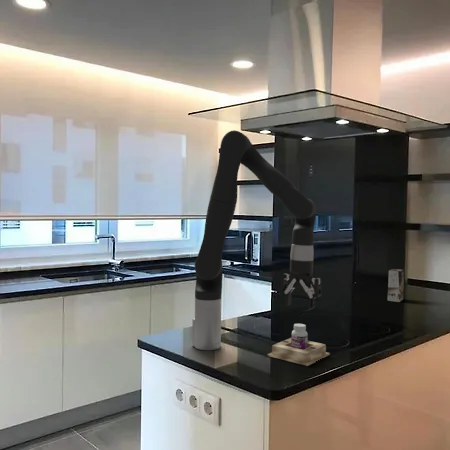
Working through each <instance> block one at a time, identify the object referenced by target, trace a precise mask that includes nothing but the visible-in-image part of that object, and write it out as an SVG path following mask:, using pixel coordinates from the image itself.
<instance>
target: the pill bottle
mask: <svg viewBox="0 0 450 450" xmlns="http://www.w3.org/2000/svg"><path fill="white" fill-rule="evenodd" d="M306 326H307V325H306V324H303V323H294V324H293V330H292V331H291V337H290V338H291V347H293V348H298V349H302V350H304V349H306V348H307V340H309V339H308V337H309V336H308V335H309V334H308V332H307V330H306V329H307V327H306Z"/></svg>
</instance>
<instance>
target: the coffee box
mask: <svg viewBox="0 0 450 450" xmlns="http://www.w3.org/2000/svg"><path fill="white" fill-rule="evenodd" d="M404 278H405V269H400V268H396V269H395V268H391V269H389V270H388V284H387V286H388V287H387V301H389V302H396V303H400V302H402V301H403V300H404V286H405V285H404V281H405V280H404Z"/></svg>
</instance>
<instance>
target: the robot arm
mask: <svg viewBox="0 0 450 450" xmlns="http://www.w3.org/2000/svg"><path fill="white" fill-rule="evenodd" d="M219 146H220V147H219V153H218V155H219V156H218V164H217V169H216V170H217V171H216V174H215V178H214V180H213V185H212V189H211V193H210V198H209V202H208V206H207V211H206V215H205V216H206V217H205V223H204V232H203V237H202V241H201V245H200V249H199V251H198V254H197V256H196V259H195V262H194V272H195V275H196V276H195V288H194V318H192V324H191V325H192V327H191V328H192V329H191V330H192V331H191V333H192V335H191V336H192V337H191V338H192V339H191V341H192V342H191V346H192V347H194V348H195V349H197V350H201V351H214V350H218V349H220V348H221V346H222V342H221V341H222V338H221V337H222V292H223V291H222V290H223V260H222V258H223V252H224V245H225V241H226V238H227V235H228V233H229V230H230V227H231V225H232V223H233V219H234V215H235V211H236V207H237V203H238V176H239V170H240V166H241V165H243V166H244V167H245V168H247V169H248V170H249V171H251V173H252V174H253V175H254V176H255V177H257V179H258V180H259V181H260V183H262V185H263V186H264V187H265V188H266V189H267V190H268V192H270V193H271V194H272V195H273V196H274V197H275V198H276V199H278V200H279V201H280V203H282V204H283V205H284V206H285V208H286V209H287V210H288V211H289V212H290V213H291V215H293V217H294V227H293V229H292V232H291V233H292V234H291V246H290V247H291V248H290V256H289V257H290V259H289V272H290V273H282V274H281V277H280V285H279V287H280V288H279V291H280V292H283V294H284V296H285V297H284V303H285V305H286V306H291V305H292V297H293V295H292V292H293V291H294V290H297V289H299V290H302V291H305V293H306V294H307V295H308V297H309V298H308V310H311V311H312V310H314V308H315V307H316V298H319V297H322V278H321V277H317V278H315V277H313V272H314V271H313V270H314V252H315V251H314V235H315V233H314V230H315V229H314V228H315V223H316V218H317V217H316V216H317V206H316V203H315V202H314V200H313V199H310V198H307V197H306V196H305V195H304V194H303V193H301V192H300V190H298V189H297V188H296V186H295V184H294V183H293V182H292V181H290V179H288V177H286V176H285V175H284V174H283V173H282V172H281V171H279V169H277V168H276V167H274V166H273V165H272V163H270V162H268V161H267V160H266V159H265V158H264V157H263V156H262V154H261V153H260V152H259V151H258V150H257V149H256V148H255V146H254V145H253V143H252V142H251V140H250V138H249V137H248V136H246V135H245V134H244V133H243V132H241V131H238V130H230V131H228V132H226V133H225V135H224V136H223V137H222V139H221V142H220V145H219ZM288 281H290V283H289V284H288ZM312 284H313V286H312Z"/></svg>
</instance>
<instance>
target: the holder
mask: <svg viewBox="0 0 450 450" xmlns="http://www.w3.org/2000/svg"><path fill="white" fill-rule="evenodd" d="M330 355H331V353H330V352H327V345H326V344H324V343H320V342H315V341H311V340H309V339H307V348H306V349H304V350H302V349H298V348H293V347H291V337H289V338H287V339H285V340H282V341H280V342H277V343H274V344H273V345H271V352H269V353H267V357H271V358H275V359H279V360H283V361H286V362H290V363H294V364H298V365H302V366H306V367H309V366H311V365H312V364H315V363H317V362H318V360H319V361H320V359H321V360H322V358H323V359H324V358H326V357H328V356H330ZM316 361H317V362H316Z"/></svg>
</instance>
